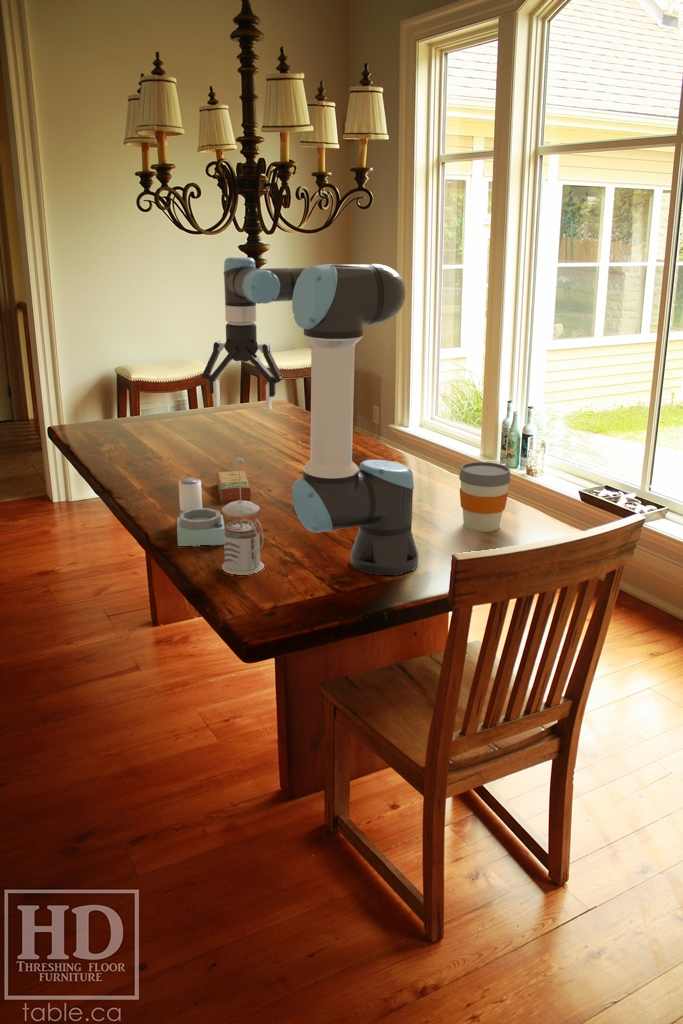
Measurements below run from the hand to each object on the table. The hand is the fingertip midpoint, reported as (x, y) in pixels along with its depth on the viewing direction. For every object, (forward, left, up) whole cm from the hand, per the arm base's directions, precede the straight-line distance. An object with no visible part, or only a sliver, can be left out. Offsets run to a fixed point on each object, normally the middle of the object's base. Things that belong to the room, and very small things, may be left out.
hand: (242, 407), depth 214 cm
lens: (-9, +14, -27) cm, 32 cm away
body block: (-20, +12, -27) cm, 36 cm away
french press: (-40, +3, -28) cm, 49 cm away
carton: (+15, +2, -28) cm, 32 cm away
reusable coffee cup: (-22, -58, -28) cm, 68 cm away
